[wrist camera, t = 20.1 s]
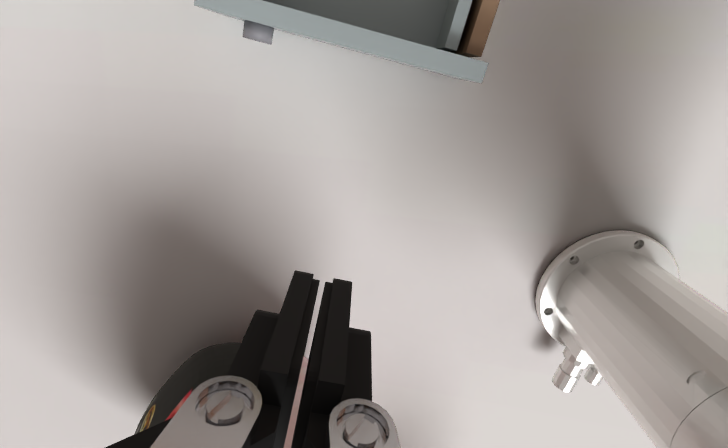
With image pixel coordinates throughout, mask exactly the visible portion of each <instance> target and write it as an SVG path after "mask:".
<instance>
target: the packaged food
mask: <svg viewBox="0 0 728 448" xmlns="http://www.w3.org/2000/svg"><path fill="white" fill-rule="evenodd" d="M240 345H241V343H226V344H219V345H214V346H210V347H208V348H205V349H202V350H200V351H199V352H197V353H196V354H194V355H193V356H192V357H190V358H189V359H188V360H187V361H186V362H185V363H184V364H183V365H182V366H181V367H180V368H179V369H178V370H177V371H176V372H175V373H174V374H173V375H172V376H171V378H170V379H169V380H168V381H167V382H166V383H165V384H164V386H163V387H162V388H161V389H160V390H159V392H158V393H157V394H156V396H155V397H154V398H153V400H152V402H151V403H150V405H149V406H148V408H147V410H146V411H145V413H144V415H143V417H142V419H141V420H140V423H139V425H138V427H137V429H136V432H135V434H137V433H139V432H141V431H144V430H146V429H148V428H150V427H152V426H155V425H157V424H159V423H161V422H164V421H166V420H168V419H170V418H173V417H174V415H175V414H176V413H177V411H178V410H179V409H180V407H181V406H182V405H183V404H184V402H185V401H186V400H187V398H188V397H189V396H190V394H191V393H192V392H193V391H194V390H195V389H196V388H197V387H198V386H199V385H200V384H202V383H203V382H205V381H207V380H209V379H212V378H215V377H219V376H227V374H228V371H229V369H230V367H231V365H232V363H233V360H234V358H235V356H236V354H237V352H238V349H239V347H240ZM307 365H308V359H307V358H306V357H303V362H302V366H301V371H300V375H299V380H298V384H297V389H296V394H295V398H294V403H293V407H292V412H291V417H290V421H289V426H288V430H287V435H286V440H285V444H284V448H291V445H292V440H293V435H294V430H295V425H296V420H297V415H298V410H299V405H300V400H301V395H302V390H303V385H304V380H305V375H306V370H307ZM135 434H134V435H135Z"/></svg>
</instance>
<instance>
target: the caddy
mask: <svg viewBox="0 0 728 448" xmlns="http://www.w3.org/2000/svg"><path fill="white" fill-rule="evenodd" d="M499 2H500V0H472V3H471V6H470V9H469V13H468V16H467V19H466V22H465V26H464V29H463V32H462V35H461V39H460V42H459V45H458V48H457V51H450V52H451V53H454V54H458V55H461V56H465V57H481V56H482V53H483V50H484V47H485V44H486V41H487V38H488V35H489V32H490V29H491V26H492V23H493V20H494V17H495V14H496V11H497V8H498V5H499Z"/></svg>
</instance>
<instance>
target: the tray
mask: <svg viewBox="0 0 728 448" xmlns="http://www.w3.org/2000/svg"><path fill="white" fill-rule="evenodd" d="M471 3H472V0H195V1H194V5H195V6H198V7H201V8H204V9H207V10H210V11H213V12H216V13H219V14H222V15H225V16H228V17H232V18H235V19H239V20H243V21H244V30H243V37H244V38H248V39H252V40H255V41H259V42H263V43H267V44H272V38H273V31H274V29H276V30H280V31H283V32H287V33H291V34H294V35H298V36H302V37H306V38H309V39H313V40H317V41H320V42H324V43H328V44H331V45H335V46H339V47H342V48H346V49H350V50H354V51H357V52H361V53H365V54H368V55H372V56H376V57H379V58H383V59H387V60H390V61H394V62H398V63H402V64H405V65H409V66H413V67H416V68H420V69H424V70H427V71H431V72H435V73H438V74H442V75H446V76H450V77H453V78H457V79H461V80H466V81H472V82H477V83H482V81H483V78H484V75H485V72H486V70H487V67H488V64H489V63H487V62H483V61H479V60H476V59H472V58H469V57H465V56H461V55H458V54H454V53H451V52H449V51H457V48H458V45H459V42H460V39H461V35H462V32H463V29H464V26H465V22H466V19H467V16H468V13H469V9H470V6H471Z"/></svg>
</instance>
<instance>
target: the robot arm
mask: <svg viewBox="0 0 728 448" xmlns="http://www.w3.org/2000/svg"><path fill="white" fill-rule="evenodd" d="M313 275H314V274H310V273H305V272H300V271H295V272H294V275H293V278H292V281H291V283H290V286H289V289H288V292H287V295H286V298H285V301H284V303H283V306H282V309H281V312H280V314H277V313H272V312H267V311H261V310H257V311H256V312H255V314H254V316H253V318H252V321H251V323H250V325H249V327H248V329H247V332H246V334H245V336H244V338H243V341H242V343H241V345H240V347H239V349H238V352H237V354H236V356H235V358H234V360H233V363H232V365H231V367H230V369H229V371H228V374H227V376H219V377H215V378H212V379H209V380H207V381H205V382H203V383H202V384H200V385H199V386H198V387H197V388H196V389H195V390H194V391H193V392H192V393H191V394H190V396H189V397H188V398H187V400H186V401H185V402H184V404H183V405H182V406H181V407H180V409H179V410H178V411H177V413H176V414H175V415H174V417H173V418H170V419H168V420H166V421H164V422H161V423H159V424H157V425H155V426H152V427H150V428H148V429H146V430H144V431H141V432H139V433H137V434H135V435H132V436H130V437H128V438H126V439H123V440H121V441H119V442H117V443H114V444H112V445H110V446H108V447H106V448H284V444H285V440H286V435H287V430H288V426H289V421H290V417H291V412H292V407H293V403H294V398H295V394H296V389H297V384H298V380H299V375H300V371H301V366H302V362H303V357H304V352H305V347H306V343H307V338H308V333H309V329H310V324H311V319H312V315H313V310H314V305H315V301H316V296H317V291H318V286H319V282H320V280H315V279H313ZM351 292H352V282H350V281H345V280H340V279H335V278H334V280H333V283H330V282H325V287H324V291H323V296H322V300H321V305H320V310H319V314H318V319H317V323H316V328H315V332H314V337H313V341H312V346H311V351H310V355H309V360H308V365H307V370H306V375H305V380H304V385H303V390H302V395H301V400H300V405H299V410H298V415H297V420H296V425H295V430H294V435H293V440H292V445H291V448H401V446H400V442H399V438H398V434H397V430H396V426H395V424H394V422H393V419H392V418H391V416H390V415H389V414H388V413H387V411H386V410H385V409H383V408H382V407H381V406H379V405H378V404H376V403H374V402H372V374H371V333H370V331H365V330H360V329H355V328H349V321H350V306H351ZM535 302H536V311H537V314H538V317H539V320H540V322H541V323H542V325H543V327H544V328H545V330H546V331H547V332H548V333H549V335H550V336H551V337H552V338H553V339H555V340H556V341H557V342H559V343H560V344H562V345H564V346H566V347H565V349H564V351H563V354H564V357H565V359H564V361H563V363H562V364H560V365H559V367H558V369H557V371H556V373H555V374H554V376H553V378H552V382H553V383H554V385H555V386H556V387H557V388H559V389H560V390H562V391H564V392H572V390H573V389H574V387H575V385H576V383H577V382H578V380H579V378H580V374H581V373H582V371H583V369H588V370H587V372H586V374H585V375H584V377H585V379H586V380H587V381H588V382H589V383H591V384H593V385H599V383H600V382H601V380H602V379H603V378H604V380H605V381H606V382H607V383H608V385H609V386H610V387H611V389H612V390H613V391H614V393H615V394H616V395H617V397H618V398H619V399H620V400H621V402H622V403H623V404H624V406H625V407H626V408H627V410H628V411H629V412H630V414H631V415H632V416H633V417H634V419H635V420H636V421H637V423H638V424H639V425H640V427H641V428H642V429H643V431H644V432H645V433H646V435H647V436H648V437H649V438H650V440H651V441H652V442H653V444H654V445H655V446H656V448H728V313H727V312H726V311H724V310H723V309H722V308H720V307H719V306H717V305H716V304H714V303H713V302H711V301H710V300H708V299H707V298H705V297H704V296H703V295H701V294H700V293H698V292H697V291H695V290H694V289H692V288H691V287H689V286H688V285H687V284H685V283H684V282H682V281H681V280H680V275H679V269H678V265H677V263H676V261H675V259H674V257H673V255H672V254H671V253H670V252H669V250H668V249H667V248H666V247H664V246H663V245H662V244H660V243H659V242H657V241H656V240H654V239H652V238H650V237H648V236H647V235H644V234H641V233H637V232H634V231H623V230H617V231H606V232H602V233H598V234H594V235H591V236H589V237H586V238H584V239H582V240H579V241H578V242H576V243H574V244H573V245H571V246H569V247H568V248H566V249H565V250H564V251H563V252H562V253H560V254H559V255H558V256H557V257H556V258H555V259H554V260H553V261H552V263H551V264H550V265H549V266H548V267H547V269H546V271H545V272H544V274H543V276H542V277H541V279H540V282H539V285H538V288H537V292H536V299H535Z"/></svg>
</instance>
